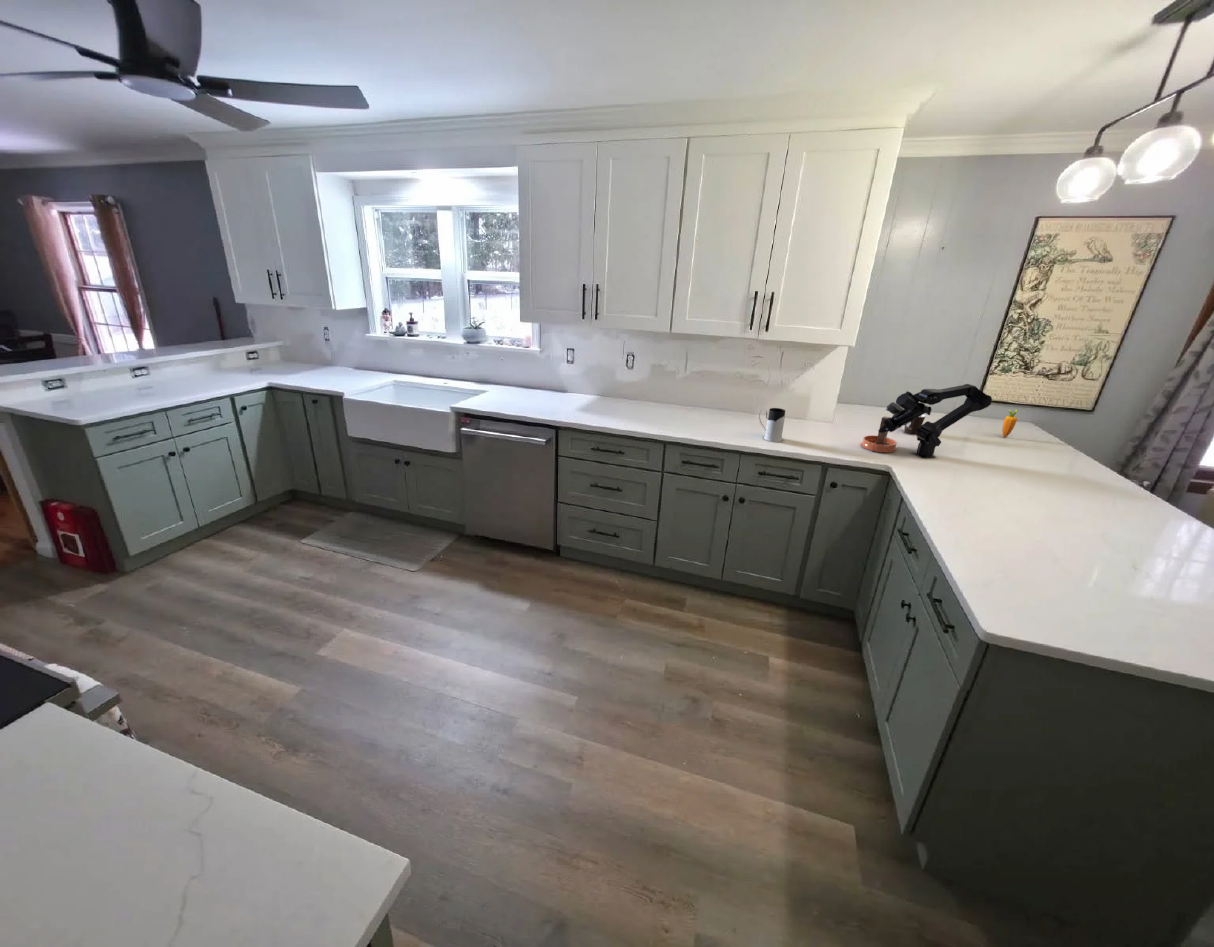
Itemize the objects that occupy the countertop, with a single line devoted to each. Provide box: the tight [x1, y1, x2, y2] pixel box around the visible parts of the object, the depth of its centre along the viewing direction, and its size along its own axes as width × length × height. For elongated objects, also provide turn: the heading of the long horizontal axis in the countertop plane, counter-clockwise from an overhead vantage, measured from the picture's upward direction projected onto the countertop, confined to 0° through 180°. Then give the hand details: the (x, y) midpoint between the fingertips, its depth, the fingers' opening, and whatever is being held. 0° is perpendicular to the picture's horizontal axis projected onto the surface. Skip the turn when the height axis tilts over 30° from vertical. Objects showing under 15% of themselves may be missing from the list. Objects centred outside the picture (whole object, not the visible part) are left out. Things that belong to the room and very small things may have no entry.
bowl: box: [861, 435, 898, 454], centre depth 237 cm, size 14×14×4 cm
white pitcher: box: [758, 407, 786, 443], centre depth 247 cm, size 9×14×15 cm, turn 39°
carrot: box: [1001, 409, 1018, 439], centre depth 251 cm, size 5×5×15 cm
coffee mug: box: [903, 414, 927, 436], centre depth 259 cm, size 12×9×10 cm
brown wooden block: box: [875, 415, 890, 445], centre depth 232 cm, size 4×4×14 cm
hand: (880, 430), depth 233 cm, fingers closed on brown wooden block, 3 cm apart
